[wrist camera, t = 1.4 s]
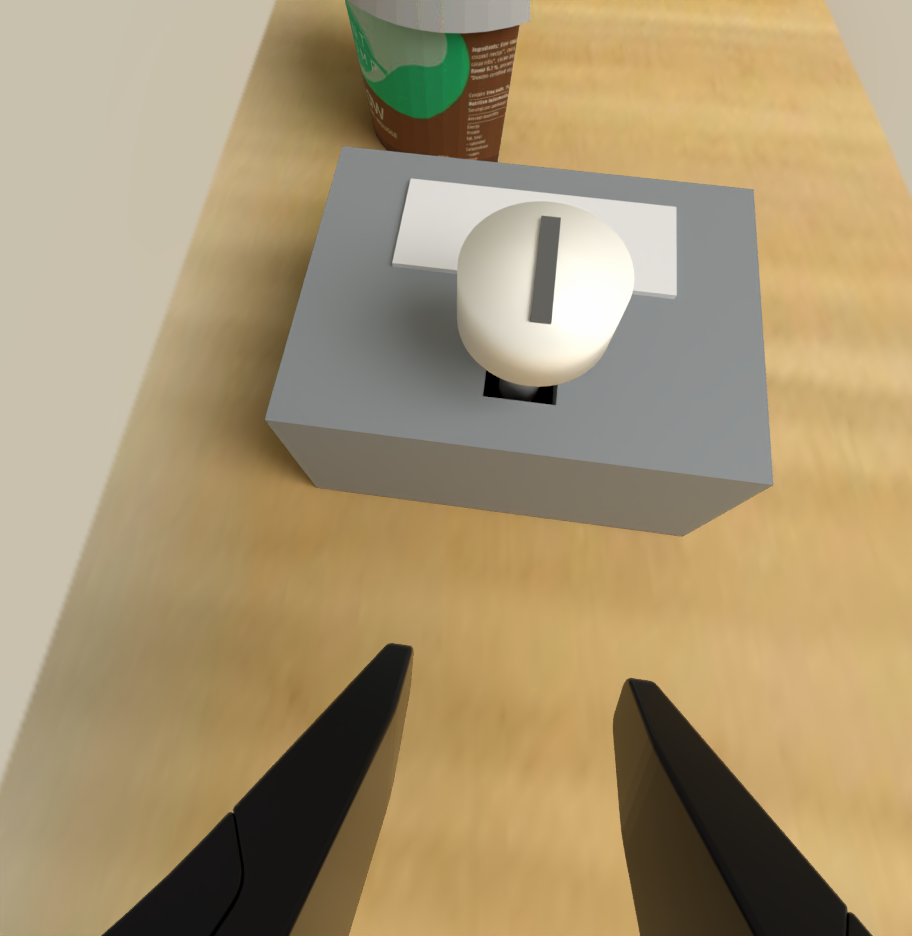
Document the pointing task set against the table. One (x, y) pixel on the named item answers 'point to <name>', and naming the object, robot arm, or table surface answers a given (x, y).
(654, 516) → the console
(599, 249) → the knob
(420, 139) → the food container
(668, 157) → the table surface
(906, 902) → the table surface
